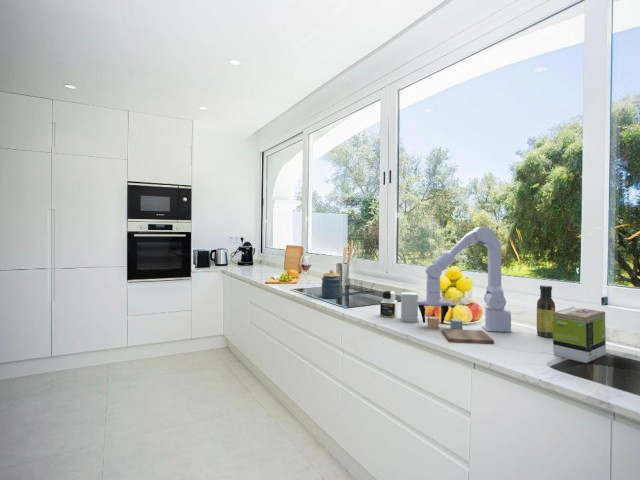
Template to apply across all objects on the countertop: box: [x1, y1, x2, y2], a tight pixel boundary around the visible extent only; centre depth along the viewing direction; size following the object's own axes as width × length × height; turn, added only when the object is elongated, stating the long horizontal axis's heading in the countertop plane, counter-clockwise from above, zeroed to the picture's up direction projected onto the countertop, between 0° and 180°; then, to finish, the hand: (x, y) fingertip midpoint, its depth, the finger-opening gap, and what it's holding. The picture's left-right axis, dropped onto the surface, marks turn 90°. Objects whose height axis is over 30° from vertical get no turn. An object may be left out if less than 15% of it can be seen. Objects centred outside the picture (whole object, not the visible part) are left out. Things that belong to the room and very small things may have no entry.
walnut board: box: [440, 328, 495, 345], centre depth 140 cm, size 16×14×1 cm
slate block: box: [449, 318, 463, 330], centre depth 152 cm, size 4×4×4 cm
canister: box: [320, 269, 342, 300], centre depth 229 cm, size 13×13×18 cm
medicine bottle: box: [379, 290, 398, 318], centre depth 177 cm, size 7×7×12 cm
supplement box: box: [400, 291, 419, 323], centre depth 168 cm, size 7×7×13 cm
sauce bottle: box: [536, 284, 556, 338], centre depth 142 cm, size 6×6×20 cm
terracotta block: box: [427, 316, 440, 329], centre depth 156 cm, size 4×4×4 cm
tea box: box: [552, 306, 607, 364], centre depth 119 cm, size 15×10×15 cm
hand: (433, 322), depth 156 cm, fingers open, 7 cm apart
